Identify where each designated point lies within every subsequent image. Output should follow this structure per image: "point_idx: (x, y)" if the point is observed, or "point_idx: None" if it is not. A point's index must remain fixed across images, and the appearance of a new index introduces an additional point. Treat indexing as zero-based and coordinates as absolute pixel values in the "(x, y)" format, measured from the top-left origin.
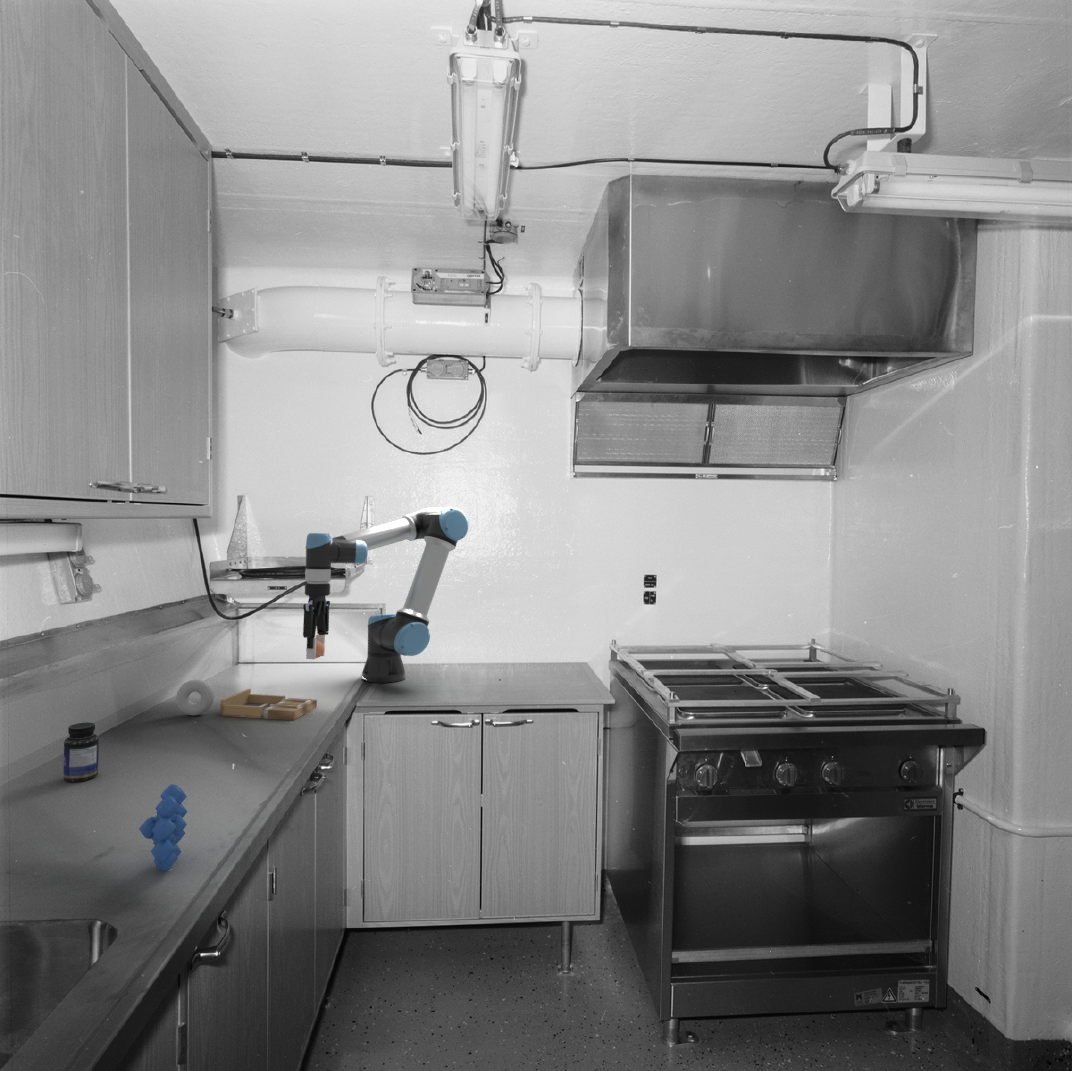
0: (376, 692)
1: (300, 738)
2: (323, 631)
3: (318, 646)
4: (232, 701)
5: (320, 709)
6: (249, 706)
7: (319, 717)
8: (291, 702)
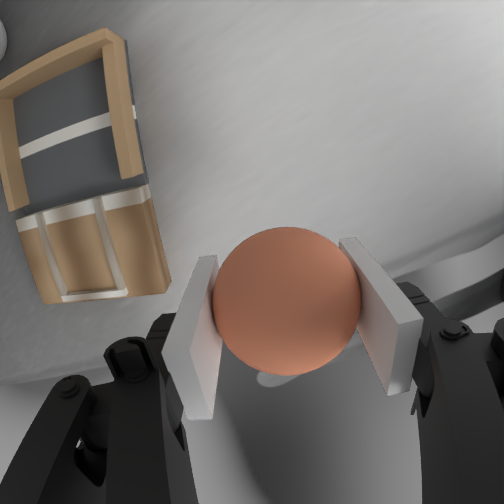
0: None
1: (9, 358)
2: (418, 409)
3: (249, 365)
4: (21, 84)
5: (161, 300)
6: (3, 176)
7: (102, 334)
8: (97, 239)
